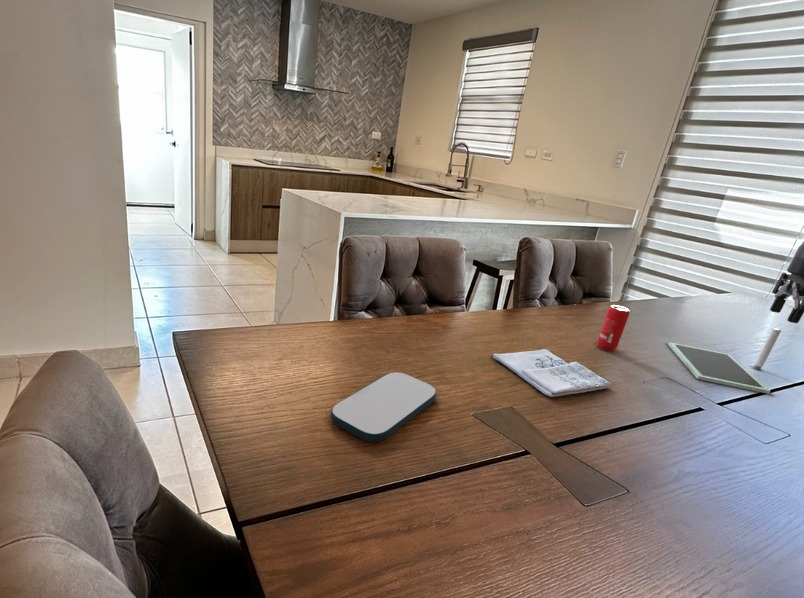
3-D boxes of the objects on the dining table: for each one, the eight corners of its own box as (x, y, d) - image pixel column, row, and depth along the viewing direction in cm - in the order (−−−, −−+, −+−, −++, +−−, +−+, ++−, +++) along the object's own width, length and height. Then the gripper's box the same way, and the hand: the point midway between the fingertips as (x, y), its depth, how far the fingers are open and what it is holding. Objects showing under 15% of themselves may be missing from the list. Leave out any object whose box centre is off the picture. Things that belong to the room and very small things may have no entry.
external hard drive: (375, 449, 78) (376, 439, 77) (322, 419, 84) (323, 410, 83) (440, 398, 96) (442, 389, 95) (393, 376, 102) (395, 368, 101)
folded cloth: (550, 400, 100) (553, 391, 100) (489, 357, 117) (491, 349, 116) (611, 389, 108) (614, 381, 107) (546, 351, 125) (548, 343, 124)
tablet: (728, 356, 137) (729, 353, 136) (769, 394, 116) (770, 390, 116) (667, 344, 140) (669, 341, 140) (697, 379, 119) (699, 375, 119)
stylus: (759, 368, 131) (779, 328, 127) (762, 370, 130) (782, 331, 125) (751, 366, 132) (771, 327, 127) (754, 369, 130) (775, 329, 125)
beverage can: (592, 342, 135) (606, 303, 130) (610, 344, 135) (624, 305, 130) (600, 350, 130) (615, 310, 125) (619, 352, 130) (634, 312, 125)
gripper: (850, 267, 111) (815, 329, 118) (814, 254, 124) (784, 311, 130) (813, 261, 113) (781, 322, 119) (781, 249, 126) (753, 305, 132)
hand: (782, 316), depth 125 cm, fingers open, 8 cm apart
